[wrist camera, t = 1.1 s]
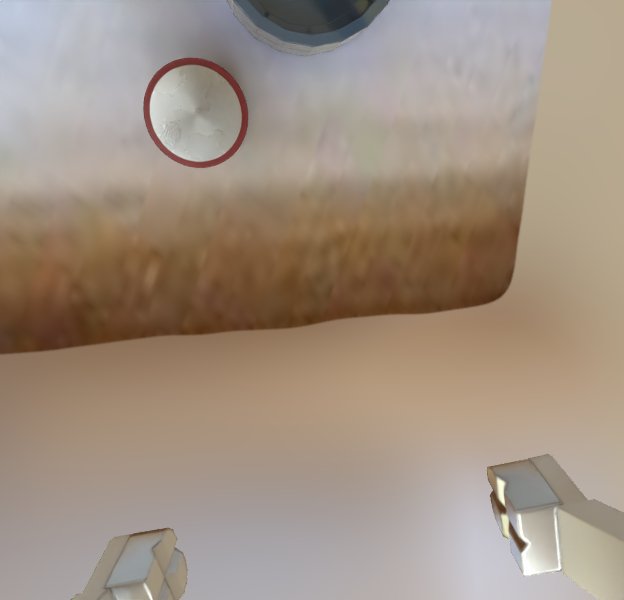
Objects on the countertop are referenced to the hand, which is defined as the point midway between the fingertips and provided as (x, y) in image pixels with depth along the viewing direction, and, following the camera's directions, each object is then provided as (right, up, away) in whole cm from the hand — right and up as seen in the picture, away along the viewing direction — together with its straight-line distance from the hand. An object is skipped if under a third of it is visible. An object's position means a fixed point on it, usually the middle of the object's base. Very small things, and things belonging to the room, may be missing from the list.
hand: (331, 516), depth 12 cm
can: (-9, +21, +28) cm, 36 cm away
